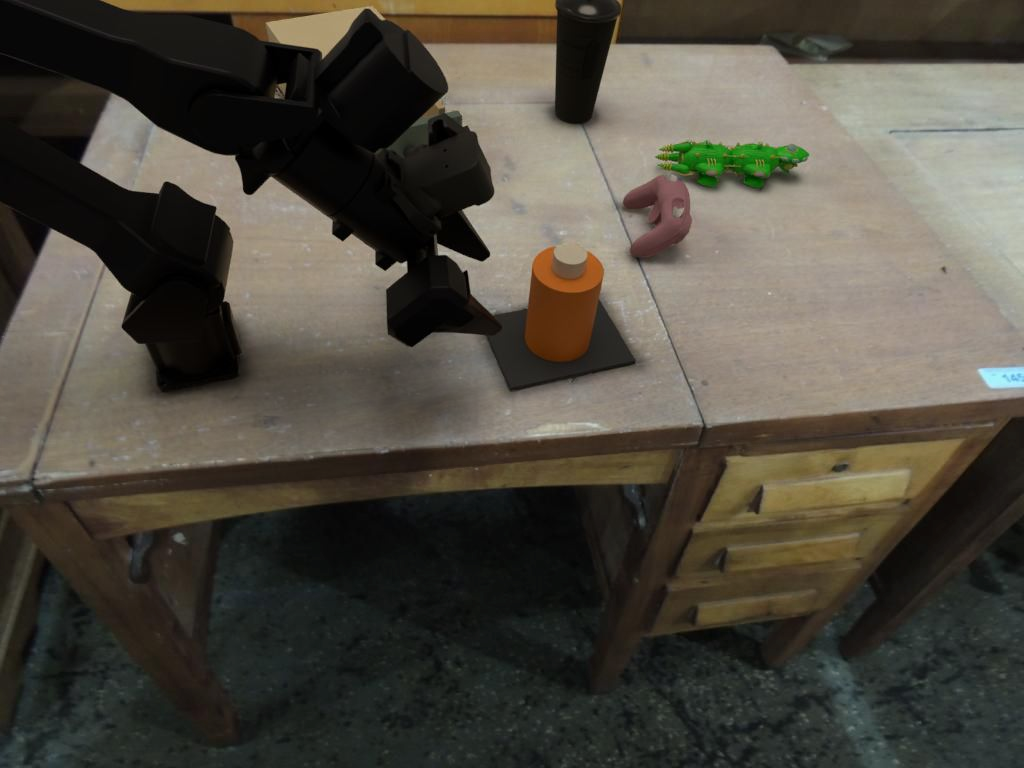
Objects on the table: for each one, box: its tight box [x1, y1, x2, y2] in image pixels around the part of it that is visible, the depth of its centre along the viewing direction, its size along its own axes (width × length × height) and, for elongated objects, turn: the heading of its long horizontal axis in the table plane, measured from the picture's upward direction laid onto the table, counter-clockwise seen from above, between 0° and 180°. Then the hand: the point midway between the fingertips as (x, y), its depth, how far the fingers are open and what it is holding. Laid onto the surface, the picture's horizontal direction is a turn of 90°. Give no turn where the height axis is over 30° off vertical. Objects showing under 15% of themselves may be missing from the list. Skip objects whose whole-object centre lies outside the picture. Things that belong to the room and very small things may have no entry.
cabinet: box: [265, 5, 386, 96], centre depth 91 cm, size 16×14×8 cm
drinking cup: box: [554, 0, 623, 125], centre depth 88 cm, size 8×8×20 cm
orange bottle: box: [525, 242, 605, 362], centre depth 64 cm, size 6×6×10 cm
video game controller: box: [622, 172, 693, 258], centre depth 78 cm, size 10×5×7 cm, turn 179°
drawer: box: [375, 100, 463, 158], centre depth 84 cm, size 16×13×6 cm
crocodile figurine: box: [654, 139, 810, 189], centre depth 87 cm, size 7×18×4 cm, turn 93°
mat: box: [485, 299, 637, 392], centre depth 68 cm, size 12×9×1 cm
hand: (492, 292), depth 63 cm, fingers open, 9 cm apart
